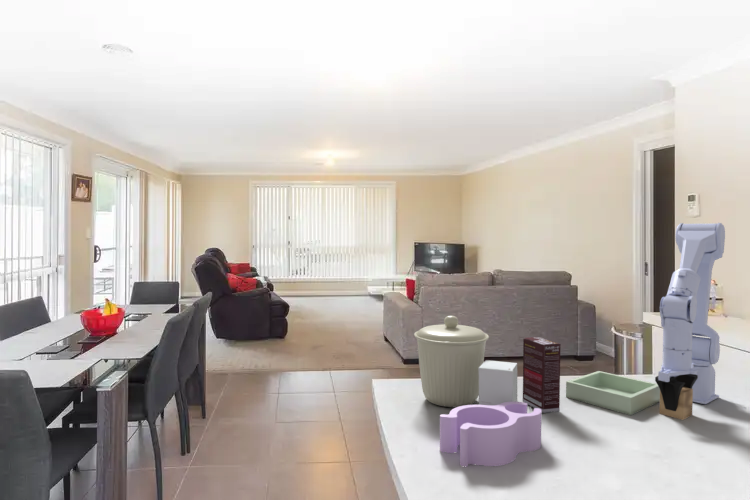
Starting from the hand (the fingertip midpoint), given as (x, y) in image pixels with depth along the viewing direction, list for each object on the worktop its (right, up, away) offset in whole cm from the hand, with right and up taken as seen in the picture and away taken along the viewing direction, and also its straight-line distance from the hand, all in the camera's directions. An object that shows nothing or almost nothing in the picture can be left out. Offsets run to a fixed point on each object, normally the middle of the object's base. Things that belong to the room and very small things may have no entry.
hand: (675, 407), depth 115 cm
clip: (-46, -3, -18) cm, 50 cm away
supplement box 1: (-42, -2, -5) cm, 42 cm away
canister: (-50, -1, +9) cm, 51 cm away
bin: (-9, -1, +10) cm, 14 cm away
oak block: (0, -2, 0) cm, 2 cm away
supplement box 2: (-29, -2, +5) cm, 30 cm away
